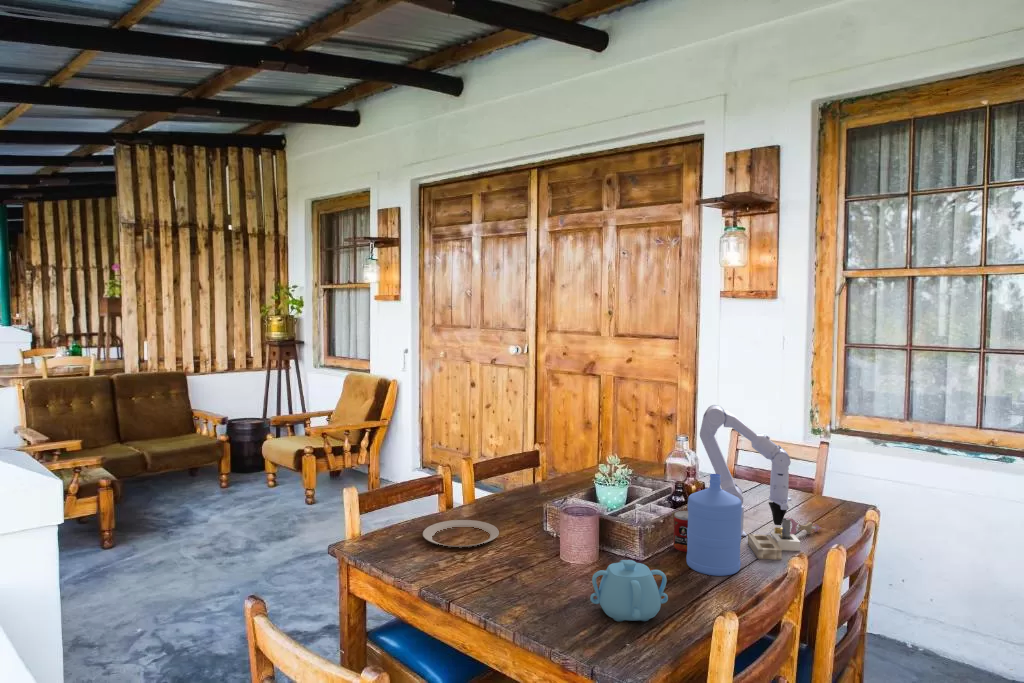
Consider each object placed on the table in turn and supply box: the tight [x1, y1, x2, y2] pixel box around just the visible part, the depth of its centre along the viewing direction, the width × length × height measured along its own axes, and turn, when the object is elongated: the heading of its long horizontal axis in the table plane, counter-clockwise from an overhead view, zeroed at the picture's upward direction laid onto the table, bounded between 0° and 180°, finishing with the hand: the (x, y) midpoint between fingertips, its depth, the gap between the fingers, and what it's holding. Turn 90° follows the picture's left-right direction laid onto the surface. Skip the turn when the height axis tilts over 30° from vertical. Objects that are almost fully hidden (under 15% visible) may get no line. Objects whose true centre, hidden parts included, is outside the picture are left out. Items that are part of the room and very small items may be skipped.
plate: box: [422, 519, 500, 549], centre depth 233 cm, size 26×26×2 cm
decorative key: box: [786, 517, 822, 535], centre depth 236 cm, size 7×1×20 cm
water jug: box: [686, 473, 743, 577], centre depth 208 cm, size 16×16×28 cm
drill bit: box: [781, 517, 791, 540], centre depth 225 cm, size 2×2×9 cm
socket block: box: [770, 531, 801, 552], centre depth 230 cm, size 7×16×3 cm, turn 174°
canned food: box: [673, 510, 688, 553], centre depth 224 cm, size 8×8×11 cm
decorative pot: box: [589, 559, 669, 622], centre depth 178 cm, size 16×16×14 cm
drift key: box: [773, 526, 782, 538], centre depth 231 cm, size 3×6×3 cm, turn 174°
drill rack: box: [747, 533, 783, 561], centre depth 222 cm, size 7×14×3 cm, turn 174°
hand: (777, 524), depth 235 cm, fingers closed
